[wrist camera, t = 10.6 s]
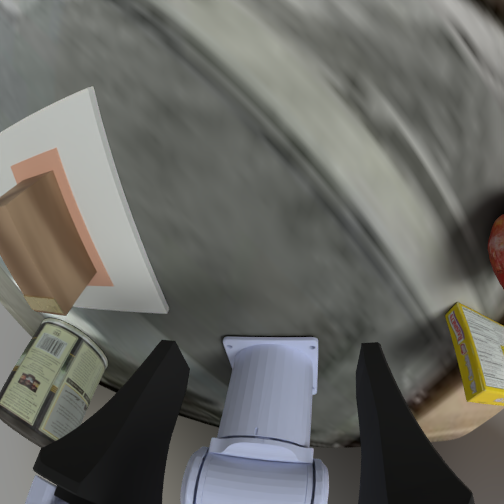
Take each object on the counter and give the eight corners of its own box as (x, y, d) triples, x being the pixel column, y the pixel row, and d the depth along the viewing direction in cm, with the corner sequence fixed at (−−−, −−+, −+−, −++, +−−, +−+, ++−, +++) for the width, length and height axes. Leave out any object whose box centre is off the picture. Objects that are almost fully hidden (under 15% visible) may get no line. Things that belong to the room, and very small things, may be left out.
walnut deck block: (53, 170, 18) (4, 205, 14) (96, 271, 23) (65, 316, 19) (22, 180, 18) (-22, 214, 14) (65, 271, 24) (34, 312, 20)
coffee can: (72, 365, 37) (33, 444, 26) (30, 315, 31) (-23, 400, 20) (123, 374, 34) (84, 469, 23) (78, 318, 29) (17, 426, 18)
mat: (169, 308, 25) (166, 314, 24) (57, 301, 28) (54, 305, 27) (93, 86, 15) (86, 88, 14) (-16, 143, 18) (-22, 146, 17)
